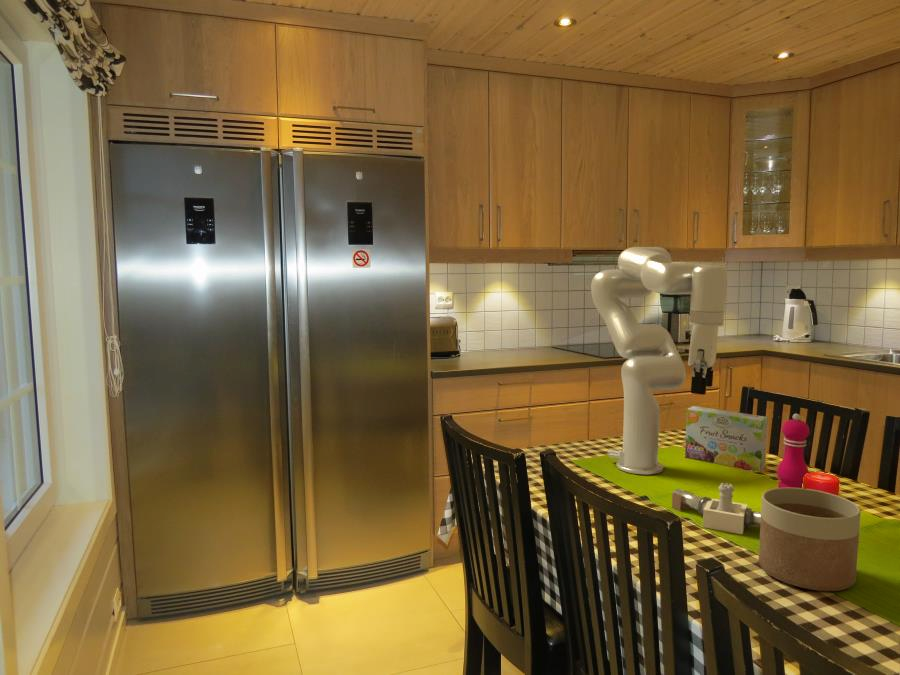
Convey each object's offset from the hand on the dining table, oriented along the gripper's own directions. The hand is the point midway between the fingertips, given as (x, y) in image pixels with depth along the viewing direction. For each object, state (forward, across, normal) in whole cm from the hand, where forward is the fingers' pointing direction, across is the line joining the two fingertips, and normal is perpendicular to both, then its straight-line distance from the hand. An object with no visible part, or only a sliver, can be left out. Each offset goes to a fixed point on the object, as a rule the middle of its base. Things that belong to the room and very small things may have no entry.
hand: (701, 389), depth 156 cm
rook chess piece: (+26, +13, +8) cm, 30 cm away
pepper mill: (+28, -18, +20) cm, 39 cm away
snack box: (+28, -35, +2) cm, 45 cm away
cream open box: (+27, +13, +9) cm, 31 cm away
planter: (+26, +30, +25) cm, 47 cm away
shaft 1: (+27, +9, +1) cm, 28 cm away
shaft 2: (+27, +13, +17) cm, 34 cm away
